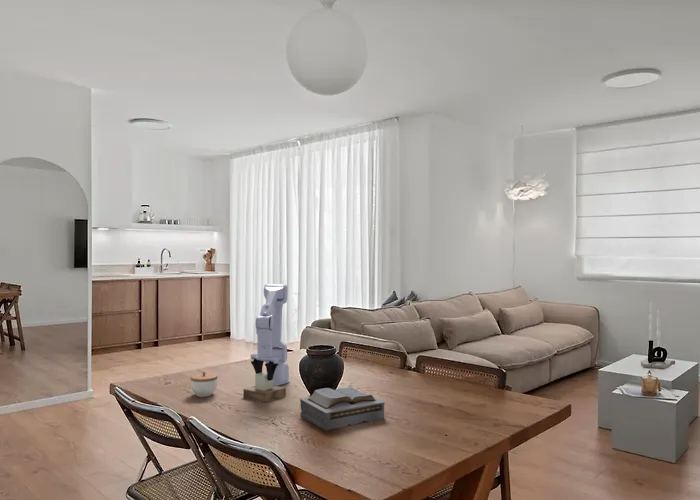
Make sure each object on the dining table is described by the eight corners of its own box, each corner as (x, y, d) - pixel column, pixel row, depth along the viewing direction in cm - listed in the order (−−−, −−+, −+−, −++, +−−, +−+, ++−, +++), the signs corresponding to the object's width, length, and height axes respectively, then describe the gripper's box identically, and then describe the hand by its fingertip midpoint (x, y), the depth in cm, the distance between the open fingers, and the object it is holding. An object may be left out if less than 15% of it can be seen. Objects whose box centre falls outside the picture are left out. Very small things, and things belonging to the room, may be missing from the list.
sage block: (264, 386, 228) (264, 371, 228) (273, 388, 225) (273, 373, 225) (255, 388, 224) (255, 373, 224) (264, 390, 221) (264, 375, 221)
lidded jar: (201, 399, 220) (201, 376, 220) (185, 395, 227) (185, 372, 227) (223, 394, 229) (222, 371, 229) (206, 390, 235) (206, 368, 235)
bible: (296, 413, 204) (296, 386, 204) (364, 405, 214) (364, 379, 214) (315, 433, 182) (315, 403, 182) (390, 423, 192) (390, 394, 192)
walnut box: (265, 392, 233) (265, 383, 233) (285, 397, 226) (285, 387, 226) (243, 399, 224) (243, 389, 224) (264, 404, 216) (264, 393, 216)
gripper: (244, 344, 226) (245, 378, 226) (270, 348, 217) (270, 383, 217) (257, 342, 231) (257, 374, 232) (282, 346, 223) (282, 380, 223)
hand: (264, 378), depth 225 cm, fingers open, 6 cm apart
